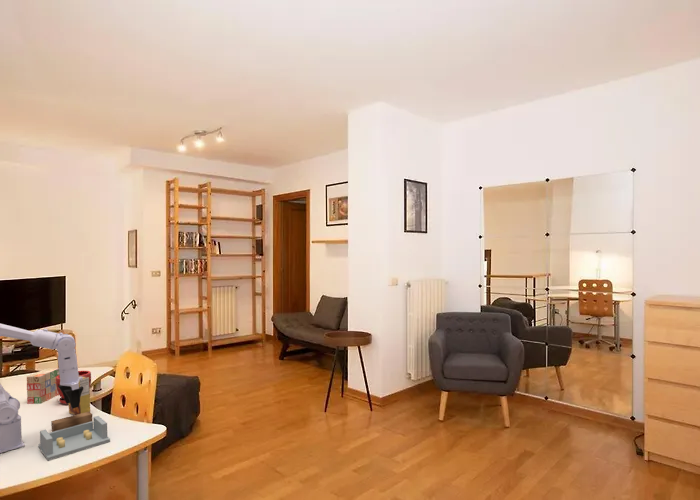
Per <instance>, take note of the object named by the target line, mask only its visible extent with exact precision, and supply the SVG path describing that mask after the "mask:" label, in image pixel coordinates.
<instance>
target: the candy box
mask: <svg viewBox="0 0 700 500" xmlns="http://www.w3.org/2000/svg"><path fill="white" fill-rule="evenodd" d="M79 377H83V379H82V380H80V381H79V383H78V384H79V387H82V386H83V391H82V393H81V397H80V404H79V407H76V408H73V409H72V407H71V405H70V403H69V404H68V413H69V414H71V415H72V416H73V415H77V414H81V413H85V412H91V393H90V392H91V391H90V388H91V387H90V388H89V377H85V376H81V375H79Z"/></svg>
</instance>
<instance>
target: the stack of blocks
mask: <svg viewBox="0 0 700 500" xmlns="http://www.w3.org/2000/svg"><path fill="white" fill-rule="evenodd" d="M59 375H60V374H59V367H58V368H57V367H56V368H44V369H42V370H39V371H36V372H35V373H32V374H29V375H28V376H27V375H26V395H27V396H26V397H27V398H26V400H27V404H28V405H29V404H30V405H34V404H35V405H36V404H37V405H38V404H43V403H45V402H47V401H49V400H51V399H53V398H56V397H58V396H60V395H59V393H58V391H57V385H56V377H57V376H59Z"/></svg>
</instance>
